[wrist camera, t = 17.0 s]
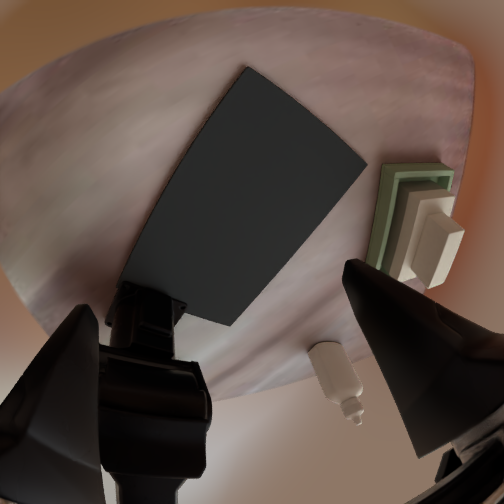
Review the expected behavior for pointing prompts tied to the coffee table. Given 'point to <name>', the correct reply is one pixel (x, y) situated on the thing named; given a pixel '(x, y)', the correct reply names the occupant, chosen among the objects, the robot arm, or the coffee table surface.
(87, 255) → the coffee table surface
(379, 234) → the tray
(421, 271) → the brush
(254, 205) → the mat
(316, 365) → the eye dropper bottle
